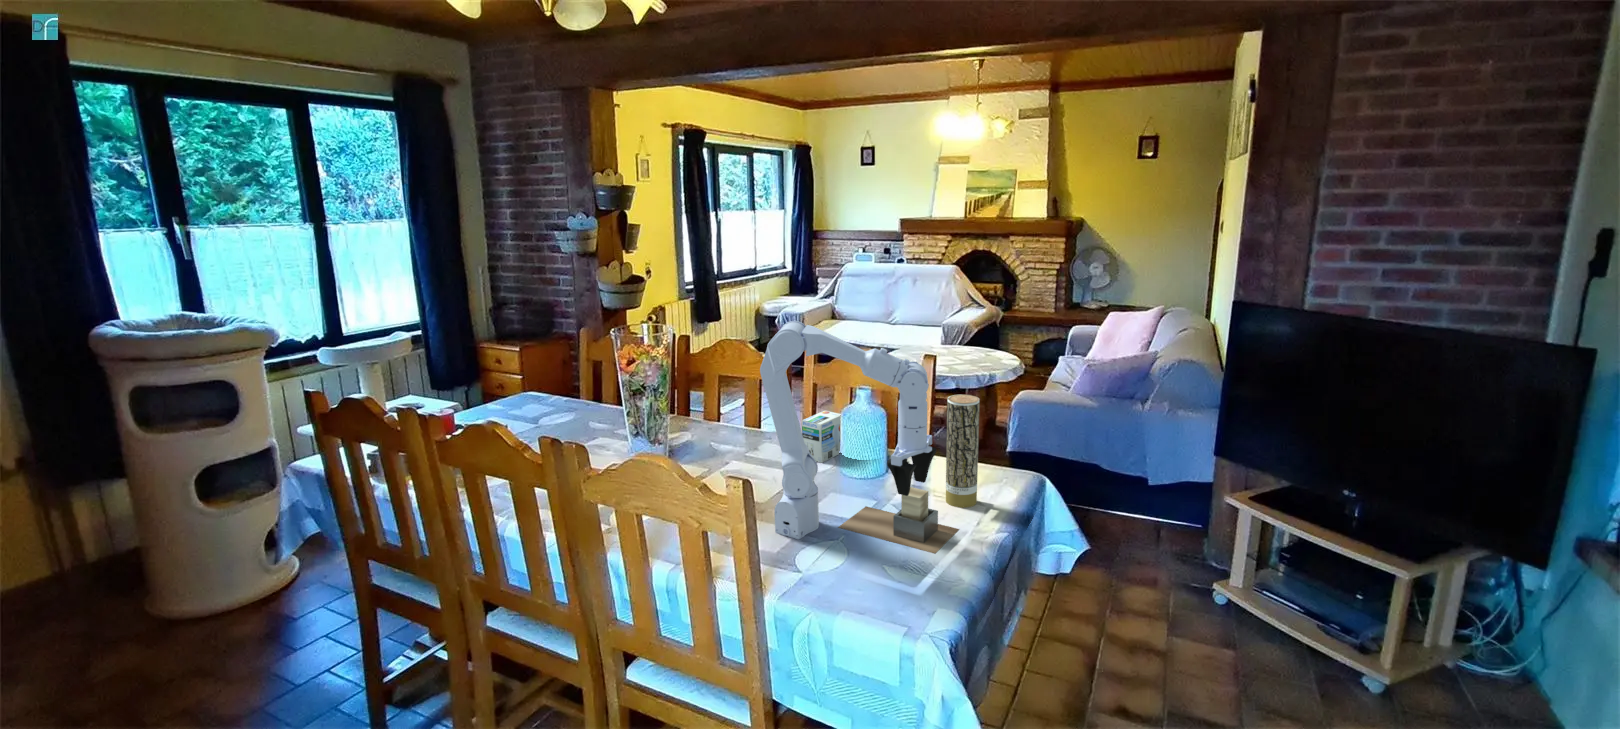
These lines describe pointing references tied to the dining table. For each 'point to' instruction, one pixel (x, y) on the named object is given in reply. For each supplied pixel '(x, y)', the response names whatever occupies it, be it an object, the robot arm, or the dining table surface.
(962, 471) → the paper tube
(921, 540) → the grey open box
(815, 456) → the light bulb box
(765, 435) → the dining table surface
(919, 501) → the beige wooden block
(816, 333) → the robot arm
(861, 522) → the plank
